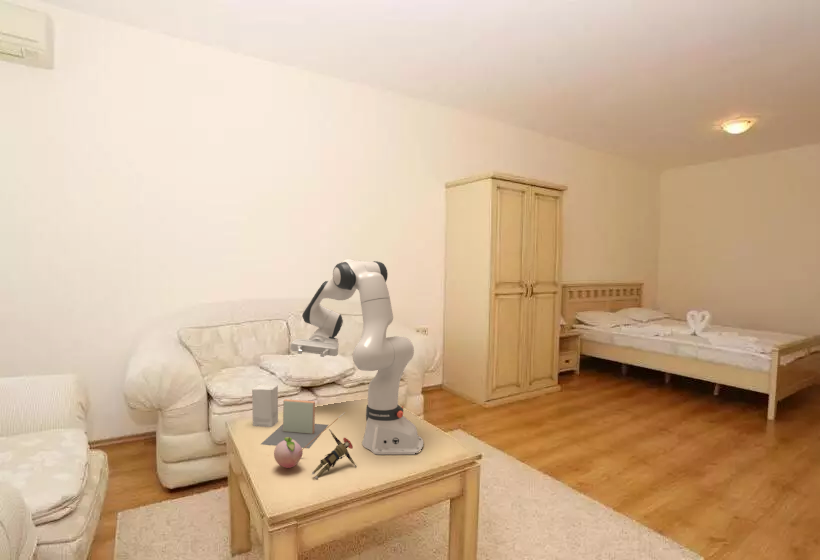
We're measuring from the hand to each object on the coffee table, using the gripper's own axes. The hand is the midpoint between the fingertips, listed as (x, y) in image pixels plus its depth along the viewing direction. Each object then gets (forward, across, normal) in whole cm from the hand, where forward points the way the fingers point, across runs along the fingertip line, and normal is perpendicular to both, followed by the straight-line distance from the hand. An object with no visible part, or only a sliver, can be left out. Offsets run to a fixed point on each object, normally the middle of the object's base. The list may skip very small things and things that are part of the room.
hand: (310, 353), depth 174 cm
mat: (+19, +2, +26) cm, 32 cm away
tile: (+17, +2, +26) cm, 30 cm away
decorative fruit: (+44, +6, +22) cm, 50 cm away
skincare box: (+10, -14, +28) cm, 33 cm away
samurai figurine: (+44, +18, +21) cm, 52 cm away
